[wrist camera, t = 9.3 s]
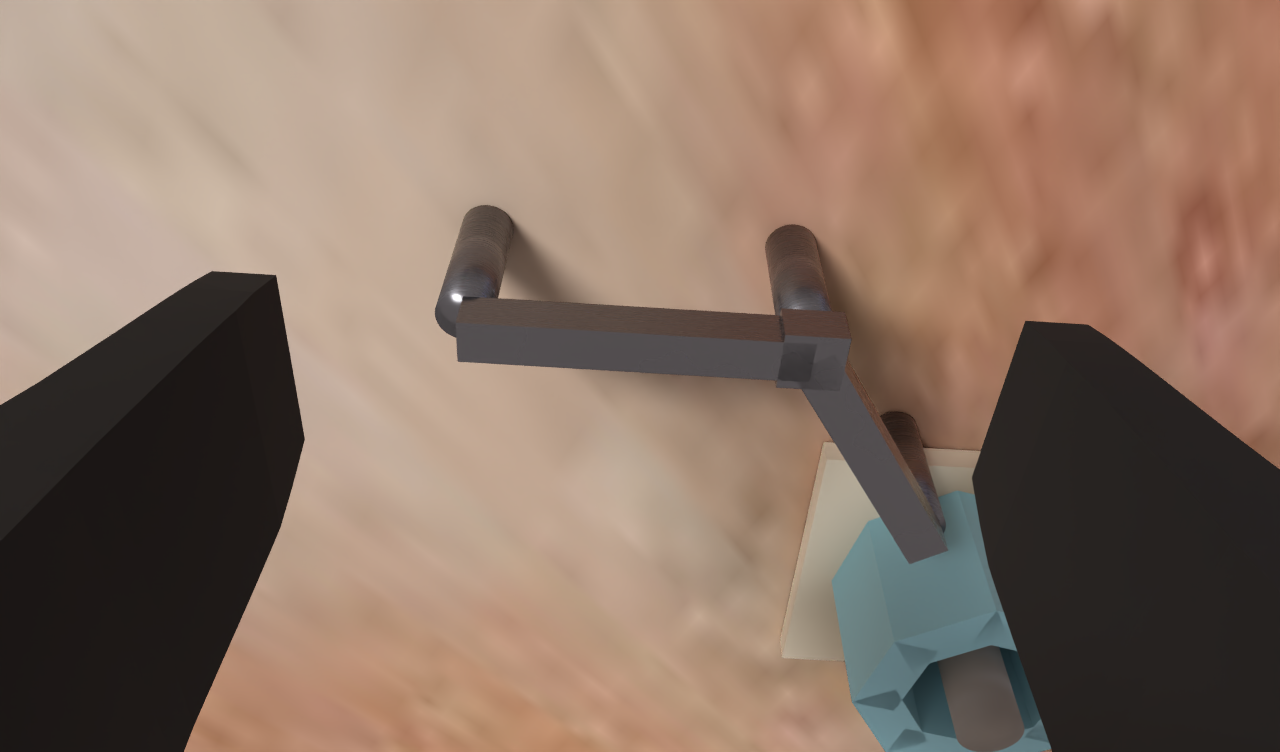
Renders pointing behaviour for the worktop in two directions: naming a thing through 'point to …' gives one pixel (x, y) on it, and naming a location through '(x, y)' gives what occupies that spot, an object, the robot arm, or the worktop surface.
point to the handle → (706, 357)
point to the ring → (923, 632)
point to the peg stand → (811, 614)
